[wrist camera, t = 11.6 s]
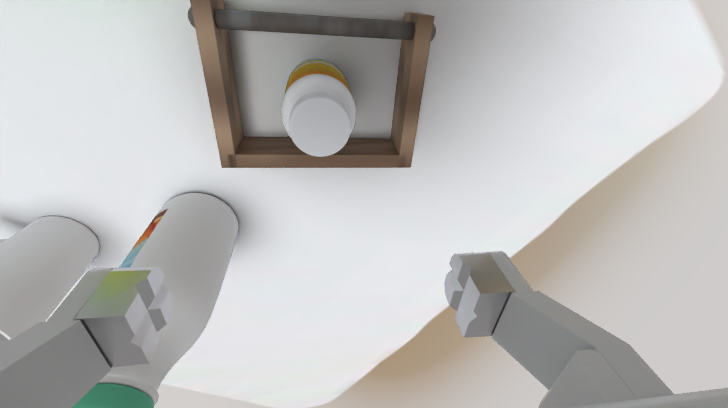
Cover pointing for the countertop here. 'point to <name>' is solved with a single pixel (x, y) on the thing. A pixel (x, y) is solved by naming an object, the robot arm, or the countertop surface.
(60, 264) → the mug
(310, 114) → the supplement bottle
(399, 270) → the countertop surface
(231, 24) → the wooden bar rack
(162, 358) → the milk bottle
